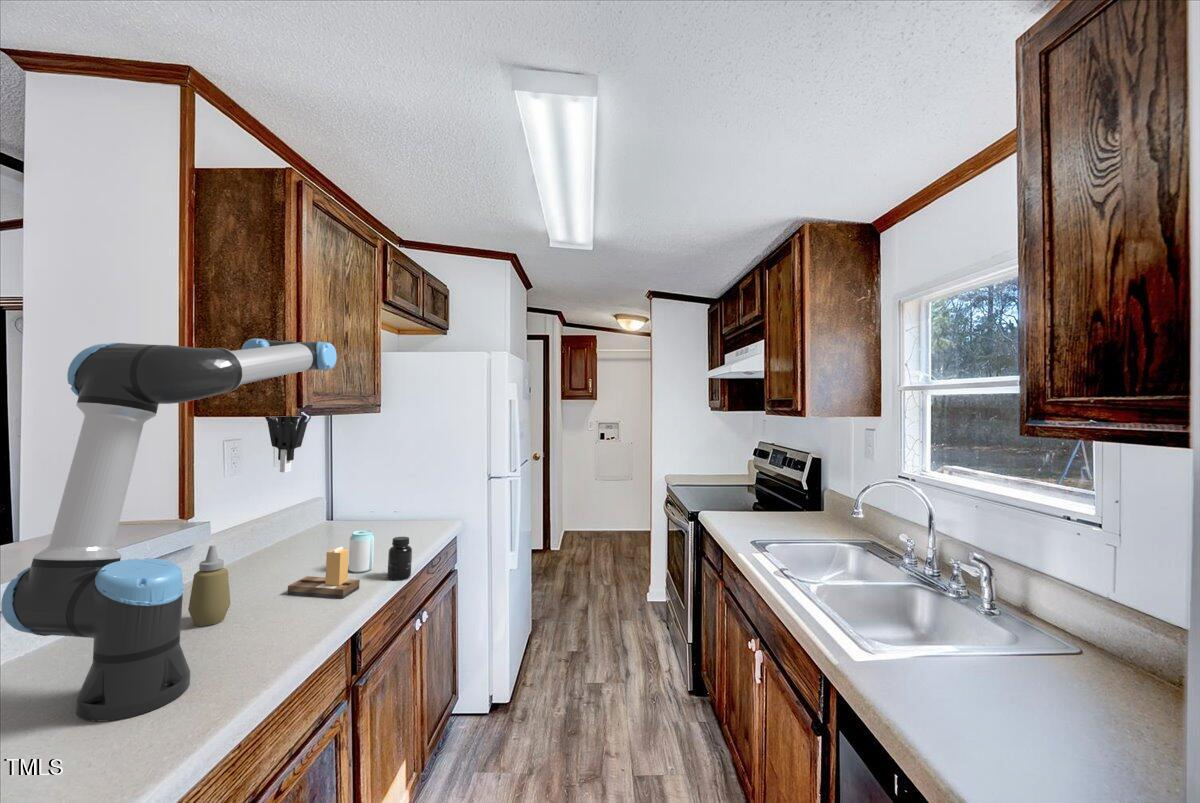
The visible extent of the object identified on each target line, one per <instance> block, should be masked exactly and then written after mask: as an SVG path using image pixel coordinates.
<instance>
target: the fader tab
mask: <svg viewBox="0 0 1200 803" xmlns="http://www.w3.org/2000/svg"><path fill="white" fill-rule="evenodd" d="M348 572H349V548H344V546H339V547H337V548H333V549H330V550H328V551H326V562H325V577H326V580H325V585H336V586H339V585H343V583H345V582H346V581H347V579H348Z"/></svg>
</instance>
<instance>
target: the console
mask: <svg viewBox="0 0 1200 803" xmlns="http://www.w3.org/2000/svg"><path fill="white" fill-rule="evenodd" d="M325 580H326V576H325V577H323V576H309V575H306V576H304V577H302V578H300V579H298V580H297V581H294V582H292V583H291V584H288V585H287V596H298V595H300V597H301V596H302V597H313V598H325V599H326V598H327V599H328V598H329V599H341V600H344V599H345V598H347V597H348V596H350V595H351V594H353V593H354V592H356V591H358V590H359V589H360V583H361V582H360V579H352V578H347V581H346V582H345V583H343V585H339V586H336V585H325Z"/></svg>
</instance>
